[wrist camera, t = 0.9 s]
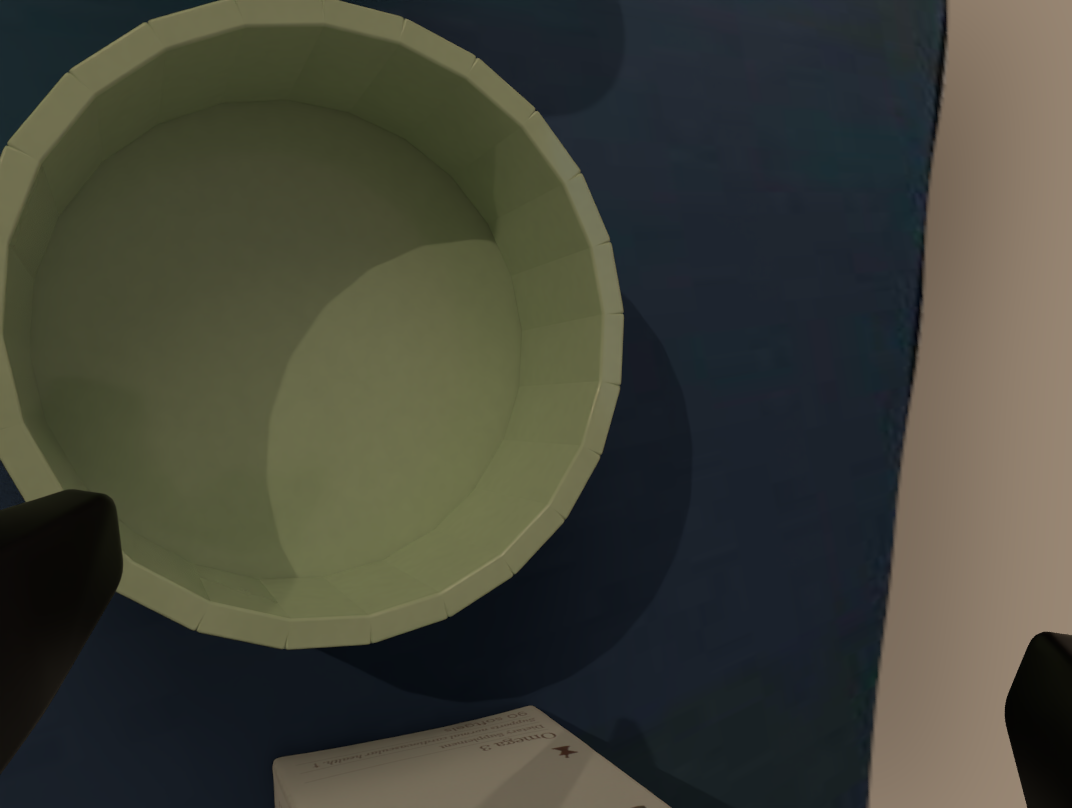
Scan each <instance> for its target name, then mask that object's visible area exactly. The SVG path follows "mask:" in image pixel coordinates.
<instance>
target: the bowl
mask: <svg viewBox="0 0 1072 808" xmlns="http://www.w3.org/2000/svg"><path fill="white" fill-rule="evenodd" d="M7 145H8V146H5V147H4V148H3V151H2V153H1V156H0V460H1V462H2V464H3V465H4V467H5V469H6V470H7V472H8V474H9V475H10V477H11V479H12V480H13V482H14V484H15V485H16V487H17V489H18V490H19V492H20V494H21V495H22V497H23V499H24V500H25V502H28V501H32V500H35V499H38V498H41V497H44V496H47V495H51V494H54V493H57V492H60V491H63V490H67V489H76V490H83V491H90V492H96V493H103V494H107V495H108V496H109V497H111V498H112V499H113V501H114V503H115V505H116V509H117V515H118V523H119V531H120V539H121V547H122V554H123V573H122V577H121V581H120V583H119V586H118V588H117V590H116V592H117V593H119V594H121V595H123V596H125V597H127V598H129V599H131V600H133V601H135V602H137V603H139V604H141V605H143V606H145V607H147V608H149V609H151V610H153V611H155V612H157V613H159V614H161V615H163V616H165V617H166V618H168V619H170V620H172V621H174V622H176V623H178V624H180V625H182V626H184V627H186V628H188V629H190V630H192V631H195V630H196V631H197V632H198V633H203V634H208V635H213V636H218V637H223V638H227V639H232V640H237V641H242V642H247V643H252V644H257V645H262V646H267V647H272V648H277V649H284V648H285V649H287V650H294V649H309V648H325V647H340V646H356V645H368V644H370V643H376V642H379V641H382V640H385V639H388V638H391V637H394V636H397V635H400V634H403V633H406V632H409V631H412V630H415V629H418V628H421V627H424V626H427V625H430V624H433V623H436V622H439V621H442V620H445V619H447V617H451V616H453V615H454V614H456V613H458V612H459V611H461V610H462V609H464V608H465V607H467V606H468V605H470V604H471V603H473V602H475V601H476V600H478V599H479V598H481V597H482V596H484V595H485V594H487V593H488V592H490V591H491V590H493V589H495V588H496V587H498V586H499V585H501V584H502V583H504V582H505V581H507V580H508V579H510V578H511V577H512V576H513V574H516V573H517V572H518V571H519V570H520V569H521V568H522V567H523V566H524V565H525V564H526V563H527V562H528V560H529V559H530V558H531V557H532V556H533V555H534V554H535V553H536V552H537V551H538V550H539V549H540V548H541V546H542V545H543V544H544V543H545V542H546V541H547V540H548V539H549V538H550V537H551V536H552V535H553V534H554V532H555V531H556V530H557V529H558V528H559V527H560V526H561V525H562V524H563V523H564V519H566V518H567V517H568V515H569V514H570V512H571V510H572V508H573V506H574V505H575V503H576V501H577V499H578V497H579V496H580V494H581V492H582V490H583V488H584V487H585V485H586V483H587V481H588V479H589V478H590V476H591V474H592V472H593V470H594V469H595V467H596V465H597V463H598V461H599V460H600V456H599V455H601V454H602V452H603V449H604V445H605V442H606V438H607V434H608V431H609V427H610V424H611V420H612V417H613V413H614V409H615V406H616V402H617V399H618V395H619V391H620V387H619V386H620V385H621V374H622V351H623V329H624V315H623V314H622V313H623V311H624V310H623V304H622V299H621V293H620V288H619V282H618V277H617V271H616V266H615V260H614V255H613V249H612V244H611V243H610V242H609V241H610V238H609V235H608V233H607V231H606V228H605V226H604V224H603V221H602V219H601V217H600V214H599V212H598V209H597V207H596V205H595V202H594V200H593V198H592V195H591V193H590V191H589V188H588V186H587V183H586V181H585V179H584V176H583V175H582V174H581V173H580V169H579V168H578V166H577V165H576V163H575V162H574V161H573V159H572V158H571V156H570V155H569V154H568V152H567V151H566V149H565V148H564V147H563V145H562V144H561V143H560V141H559V140H558V138H557V137H556V136H555V134H554V133H553V131H552V130H551V129H550V127H549V126H548V124H547V123H546V122H545V120H544V119H543V117H542V116H541V115H540V113H539V112H538V111H535V108H534V107H533V106H532V105H531V104H530V103H529V102H528V101H527V100H526V99H524V98H523V97H522V96H521V95H520V94H519V93H518V92H517V91H515V90H514V89H513V88H512V87H511V86H510V85H509V84H508V83H506V82H505V81H504V80H503V79H502V78H501V77H500V76H498V75H497V74H496V73H495V72H494V71H493V70H492V69H491V68H489V67H488V66H487V65H486V64H485V63H484V62H483V61H482V60H480V59H479V58H476V56H475V55H473V54H471V53H470V52H468V51H466V50H464V49H462V48H460V47H458V46H457V45H455V44H453V43H451V42H449V41H447V40H445V39H444V38H442V37H440V36H438V35H436V34H434V33H432V32H431V31H429V30H427V29H425V28H423V27H421V26H420V25H418V24H416V23H414V22H412V21H410V20H408V19H403V17H401V16H397V15H393V14H389V13H385V12H382V11H378V10H374V9H370V8H366V7H362V6H358V5H355V4H351V3H347V2H343V1H339V0H219V1H215V2H212V3H208V4H204V5H201V6H197V7H194V8H190V9H187V10H183V11H180V12H176V13H172V14H169V15H165V16H162V17H158V18H155V19H151V20H149V21H148V23H146V22H145V23H142V24H140V25H139V26H137V27H136V28H134V29H132V30H131V31H129V32H128V33H126V34H125V35H123V36H121V37H120V38H118V39H117V40H115V41H113V42H112V43H110V44H109V45H107V46H106V47H104V48H102V49H101V50H99V51H98V52H96V53H95V54H93V55H91V56H90V57H88V58H87V59H85V60H83V61H82V62H80V63H79V64H77V65H76V66H74V67H72V68H71V69H70V71H69V73H66V74H64V75H63V76H62V77H61V79H60V80H59V81H58V82H57V83H56V85H55V86H54V87H53V88H52V89H51V91H50V92H49V93H48V94H47V95H46V96H45V98H44V99H43V100H42V101H41V102H40V104H39V105H38V106H37V107H36V108H35V110H34V111H33V112H32V113H31V114H30V115H29V117H28V118H27V119H26V120H25V121H24V123H23V124H22V125H21V126H20V127H19V129H18V130H17V131H16V132H15V133H14V134H13V136H12V137H11V138H10V139H9V140H8V143H7Z"/></svg>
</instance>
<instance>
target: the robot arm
mask: <svg viewBox="0 0 1072 808" xmlns="http://www.w3.org/2000/svg"><path fill="white" fill-rule="evenodd" d="M122 573H123V554H122V547H121V539H120V531H119V523H118V515H117V509H116V505H115V503H114V501H113V499H112V498H111V497H109V496H108V495H107V494H103V493H96V492H90V491H83V490H76V489H67V490H63V491H60V492H57V493H54V494H51V495H47V496H44V497H41V498H38V499H35V500H32V501H28V502H25V503H22V504H19V505H16V506H12V507H9V508H6V509H3V510H0V774H1V773H2V771H3V770H4V769H5V767H6V766H7V764H8V763H9V762H10V760H11V759H12V758H13V756H14V755H15V753H16V752H17V751H18V749H19V748H20V747H21V745H22V744H23V742H24V741H25V740H26V738H27V737H28V735H29V734H30V733H31V731H32V730H33V728H34V727H35V725H36V724H37V722H38V721H39V719H40V718H41V717H42V715H43V714H44V712H45V710H46V709H47V707H48V706H49V704H50V702H51V701H52V699H53V698H54V696H55V694H56V693H57V691H58V689H59V688H60V686H61V684H62V682H63V681H64V679H65V677H66V676H67V674H68V672H69V670H70V669H71V667H72V665H73V664H74V662H75V660H76V658H77V657H78V655H79V653H80V652H81V650H82V648H83V646H84V645H85V643H86V641H87V640H88V638H89V636H90V634H91V633H92V631H93V629H94V628H95V626H96V624H97V622H98V621H99V619H100V617H101V616H102V614H103V612H104V610H105V609H106V607H107V605H108V604H109V602H110V600H111V598H112V597H113V595H114V593H115V592H116V590H117V588H118V586H119V583H120V581H121V577H122ZM1005 722H1006V727H1007V731H1008V735H1009V739H1010V742H1011V746H1012V750H1013V754H1014V758H1015V762H1016V766H1017V770H1018V773H1019V777H1020V781H1021V785H1022V789H1023V792H1024V796H1025V800H1026V804H1027V808H1072V635H1067V634H1059V633H1053V632H1042V633H1039V634H1037V635H1036V636H1034V638H1033V639H1032V640H1031V642H1030V643H1029V645H1028V647H1027V650H1026V652H1025V655H1024V657H1023V659H1022V662H1021V664H1020V667H1019V669H1018V671H1017V674H1016V676H1015V678H1014V681H1013V683H1012V686H1011V688H1010V691H1009V693H1008V696H1007V699H1006V705H1005Z"/></svg>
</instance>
